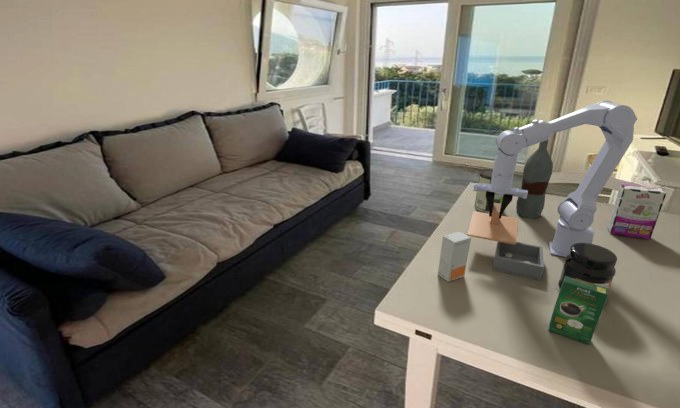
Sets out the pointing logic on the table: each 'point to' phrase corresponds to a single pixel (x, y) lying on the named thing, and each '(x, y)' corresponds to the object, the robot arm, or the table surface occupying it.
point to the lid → (494, 226)
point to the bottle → (535, 182)
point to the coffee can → (481, 200)
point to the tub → (519, 259)
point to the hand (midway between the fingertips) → (495, 216)
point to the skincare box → (454, 256)
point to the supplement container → (589, 264)
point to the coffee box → (578, 309)
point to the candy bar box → (636, 211)
